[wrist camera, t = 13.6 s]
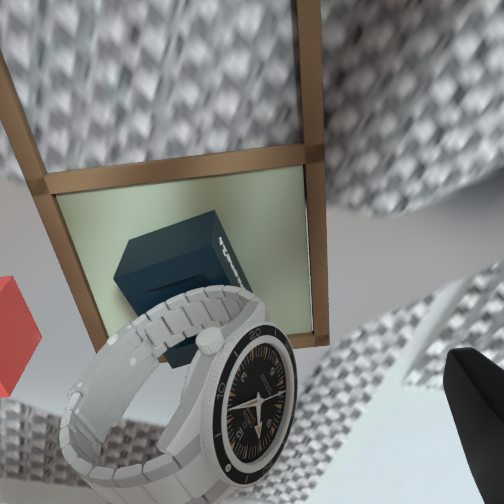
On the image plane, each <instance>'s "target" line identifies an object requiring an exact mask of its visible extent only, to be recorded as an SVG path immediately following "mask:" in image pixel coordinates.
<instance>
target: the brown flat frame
mask: <svg viewBox="0 0 504 504" xmlns="http://www.w3.org/2000/svg"><path fill="white" fill-rule="evenodd" d="M296 10H297V29H298V48H299V67H300V86H301V105H302V124H303V143H297V144H288V145H280V146H271V147H263V148H255V149H246V150H238V151H230V152H221V153H213V154H205V155H196V156H188V157H180V158H171V159H163V160H154V161H146V162H138V163H129V164H121V165H113V166H104V167H96V168H88V169H79V170H71V171H63V172H54V173H47V172H46V169H45V166H44V164H43V161H42V158H41V156H40V153H39V150H38V148H37V145H36V142H35V140H34V137H33V135H32V132H31V129H30V127H29V124H28V121H27V119H26V116H25V113H24V111H23V108H22V105H21V103H20V100H19V97H18V95H17V92H16V89H15V87H14V84H13V82H12V79H11V76H10V74H9V71H8V68H7V66H6V63H5V60H4V58H3V55H2V52H1V50H0V119H1V121H2V124H3V126H4V129H5V131H6V134H7V136H8V138H9V141H10V143H11V146H12V148H13V151H14V153H15V156H16V158H17V160H18V163H19V165H20V168H21V170H22V173H23V175H24V178H25V180H26V183H27V185H28V187H29V190H30V192H31V195H32V197H33V199H34V202H35V205H36V207H37V209H38V212H39V214H40V217H41V219H42V222H43V224H44V227H45V229H46V231H47V234H48V236H49V239H50V241H51V243H52V246H53V249H54V251H55V254H56V256H57V258H58V261H59V263H60V265H61V268H62V271H63V273H64V275H65V278H66V280H67V283H68V285H69V288H70V290H71V293H72V295H73V297H74V300H75V303H76V305H77V307H78V310H79V312H80V314H81V317H82V320H83V322H84V324H85V327H86V329H87V332H88V334H89V337H90V339H91V342H92V344H93V347H94V349H95V351H96V354H97V353H98V352H99V350H100V349H101V348H102V347H103V346H104V345H105V344H106V343H107V340H108V339H109V337H110V336H112V335H113V334H115V333H116V332H117V331H118V330H119V329H120V328H121V327H122V326H123V325H124V324H125V323H126V322H127V321H128V320H130V321H131V322H133V321H135V320H136V319H137V318H139V317H138V316H137V314H136V313H135V311H134V310H133V308H132V307H131V305H130V304H129V302H128V301H127V299H126V298H125V296H124V295H123V293H122V292H121V290H120V289H119V287H118V286H117V284H116V283H115V281H114V280H113V277H114V274H115V272H116V270H117V267H118V265H119V262H120V260H121V257H122V255H123V253H124V250H125V248H126V245H127V243H128V240H130V239H133V238H136V237H138V236H141V235H144V234H147V233H150V232H153V231H155V230H158V229H161V228H164V227H167V226H170V225H172V224H175V223H178V222H181V221H184V220H187V219H189V218H192V217H195V216H198V215H201V214H203V213H206V212H209V211H212V210H215V211H216V214H217V216H218V218H219V220H220V222H221V224H222V227H223V229H224V231H225V233H226V235H227V237H228V239H229V242H230V244H231V246H232V248H233V250H234V252H235V255H236V257H237V259H238V261H239V263H240V265H241V267H242V270H243V272H244V274H245V276H246V278H247V280H248V283H249V285H250V287H251V289H252V291H253V293H254V295H255V296H256V297H258V298H259V299H260V300H261V301H262V302H263V303H264V305H265V306H266V309H267V311H268V313H269V315H270V318H271V320H272V323H273V324H275V325H277V326H278V327H279V328H281V329H282V331H284V333H285V335H286V336H287V337H288V340H289V342H290V343H291V346H292V348H293V349H297V348H307V347H317V346H327V345H330V340H329V305H328V266H327V230H326V194H325V157H324V121H323V84H322V48H321V11H320V0H296ZM303 164H305V181H306V200H307V219H308V237H309V257H310V276H311V296H312V315H313V331H312V325H311V324H312V323H311V306H310V287H309V269H308V252H307V235H306V234H307V233H306V214H305V196H304V177H303ZM66 224H67V225H66ZM69 232H70V233H69ZM86 277H87V278H86ZM103 322H104V323H103ZM106 330H107V331H106ZM157 359H158V361H159V363H164V362H168V361H167V360H166V358H165V357H164V355H163V354H161V355H160V356H159V357H158V358H157Z"/></svg>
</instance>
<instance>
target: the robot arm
mask: <svg viewBox="0 0 504 504" xmlns="http://www.w3.org/2000/svg"><path fill="white" fill-rule="evenodd" d="M443 386H444V391H445V394H446V397H447V400H448V403H449V406H450V410H451V413H452V416H453V419H454V422H455V425H456V428H457V431H458V434H459V437H460V441H461V444H462V447H463V450H464V453H465V456H466V459H467V462H468V465H469V468H470V471H471V473H472V475H473V478H474V480H475V483H476V485H477V487H478V490H479V492H480V494H481V496H482V499H483V501H484V503H485V504H504V370H503V369H502V368H500V367H499V366H498V365H496V364H495V363H494V362H492V361H491V360H490V359H488V358H487V357H486V356H484V355H483V354H482V353H480V352H479V351H477V350H476V349H474V348H472V347H464V348H453V349H450V350H449V352H448V354H447V359H446V364H445V370H444V375H443Z"/></svg>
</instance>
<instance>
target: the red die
mask: <svg viewBox="0 0 504 504" xmlns="http://www.w3.org/2000/svg"><path fill="white" fill-rule="evenodd" d="M41 338H42V336H41V334H40V331H39V329H38V327H37V325H36V323H35V321H34V319H33V317H32V315H31V313H30V311H29V309H28V307H27V305H26V302H25V300H24V298H23V297H22V294H21V292H20V290H19V288H18V286H17V284H16V282H15V280H14V278H13V276H6V277H0V398H1V397H9V396H10V395H11V393H12V391H13V389H14V387H15V386H16V383H17V382H18V380H19V378H20V376H21V375H22V373H23V371H24V369H25V367H26V365H27V363H28V362H29V360H30V358H31V356H32V354H33V352H34V351H35V349H36V347H37V345H38V343H39V342H40V340H41Z"/></svg>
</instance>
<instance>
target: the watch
mask: <svg viewBox="0 0 504 504" xmlns="http://www.w3.org/2000/svg"><path fill="white" fill-rule="evenodd" d="M113 280H114V281H115V283H116V284H117V286H118V287H119V289H120V290H121V292H122V293H123V295H124V296H125V298H126V299H127V301H128V302H129V304H130V305H131V307H132V308H133V310H134V311H135V313H136V314H137V316H138V317H139V318H137V319H136V320H135V321H133V322H131V321H130V320H128V321H127V322H126V323H125V324H124V325H123V326H122V327H121V328H120V329H119V330H118V331H117V332H116V333H115V334H113V335H112V336H110V337H109V339H108V340H107V343H106V344H105V345H104V346H103V347H102V348H101V349H100V350H99V352H98V353H97V354H96V355H95V356H94V358H93V359H92V360H91V361H90V363H89V364H88V365H87V367H86V368H85V369H84V371H83V372H82V374H81V375H80V376H79V378H78V379H77V381H76V382H75V384H74V385H73V387H72V388H71V390H70V392H69V393H68V398H69V402H68V404H67V406H66V408H65V409H66V411H65V412H64V414H63V417H62V420H61V424H60V428H61V430H60V433H59V440H60V447H61V449H62V454H63V456H64V458H65V460H66V461H67V462H68V464H69V465H70V466H71V467H72V468H73V469H74V470H75V471H76V472H77V473H78V474H79V475H80V476H81V477H82V478H83V479H84V480H85V481H86V482H87V483H88V484H89V485H90V486H91V487H92V488H93V489H94V490H95V491H96V492H97V493H98V494H99V495H100V496H101V497H102V498H103V499H104V500H105V501H106V502H107V503H108V504H219V503H220V502H221V501H223V500H224V499H225V498H227V497H228V496H229V495H231V494H232V493H233V492H234V491H235V490H236V489H238V488H243V487H244V488H246V487H248V486H249V487H250V486H252V485H253V484H255V483H258V482H259V481H260V480H262V478H264V477H265V476H266V475H267V474H268V473H269V471H270V470H271V469H272V468H273V466H274V465H275V463H276V462H277V460H278V458H279V457H280V454H281V453H282V451H283V448H284V447H285V444H286V441H287V439H288V436H289V433H290V430H291V426H292V423H293V419H294V414H295V408H296V401H297V388H298V387H297V385H298V383H297V382H298V380H297V368H296V367H297V366H296V360H295V356H294V353H293V348H292V346H291V343H290V342H289V340H288V337H287V336H286V335H285V333H284V331H282V329H281V328H279V327H278V326H277V325H275V324H273V323H272V320H271V318H270V315H269V313H268V311H267V309H266V306H265V305H264V303H263V302H262V301H261V300H260V299H259V298H258V297H256V296H255V295H254V293H253V291H252V289H251V287H250V285H249V283H248V280H247V278H246V276H245V274H244V272H243V270H242V267H241V265H240V263H239V261H238V259H237V257H236V255H235V252H234V250H233V248H232V246H231V244H230V242H229V239H228V237H227V235H226V233H225V231H224V229H223V227H222V224H221V222H220V220H219V218H218V216H217V214H216V211H215V210H212V211H209V212H206V213H203V214H201V215H198V216H195V217H192V218H189V219H187V220H184V221H181V222H178V223H175V224H172V225H170V226H167V227H164V228H161V229H158V230H155V231H153V232H150V233H147V234H144V235H141V236H138V237H136V238H133V239H130V240H128V243H127V245H126V248H125V250H124V253H123V255H122V257H121V260H120V262H119V265H118V267H117V270H116V272H115V274H114V277H113ZM161 354H163V355H164V357H165V358H166V360H167V361H168V363H169V364H170V366H171V367H172V369H173V368H177V367H180V366H183V365H187V364H190V363H191V364H190V366H189V369H188V372H187V375H186V380H185V384H184V388H183V390H182V396H181V403H180V405H179V407H178V409H177V410H176V412H175V414H174V415H173V417H172V418H171V420H170V422H169V423H168V425H167V426H166V428H165V429H164V431H163V432H162V434H161V436H160V438H159V440H158V443H157V446H156V447H157V448H158V449H159V450H160V452H163V453H165V454H163V455H161V456H159V457H157V458H154V459H152V460H149V461H147V462H146V463H145V464H144V467H143V466H142V465H141V464H135V465H131V466H127V467H121V468H119V469H117V470H115V469H114V468H106V467H101V464H100V460H99V459H98V458H99V457H100V453H101V443H103V442H105V440H106V437H107V434H108V431H109V429H110V428H113V427H116V426H117V425H118V423H119V421H120V419H121V417H122V416H123V414H124V412H125V410H126V409H127V407H128V405H129V404H130V402H131V401H132V399H133V397H134V396H135V394H136V393H137V392H138V390H139V389H140V387H141V386H142V385H143V384H144V382H145V381H146V380H147V378H148V377H149V376H150V375H151V373H152V372H153V371H154V370H155V368H157V366H158V365H159V361H158V359H157V358H158V357H159V356H160V355H161Z"/></svg>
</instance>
